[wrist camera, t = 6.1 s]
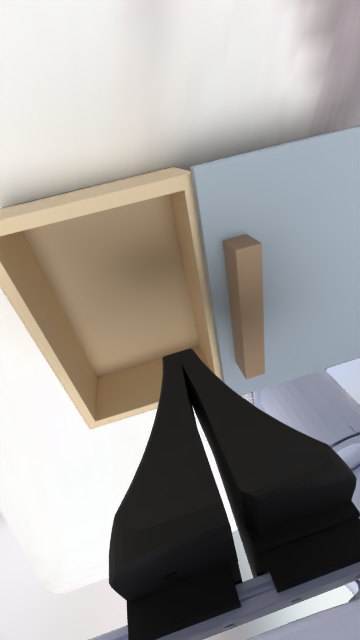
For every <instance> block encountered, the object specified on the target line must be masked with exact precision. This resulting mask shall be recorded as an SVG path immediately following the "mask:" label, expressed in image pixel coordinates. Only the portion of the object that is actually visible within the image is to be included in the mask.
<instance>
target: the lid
mask: <svg viewBox="0 0 360 640" xmlns="http://www.w3.org/2000/svg"><path fill="white" fill-rule="evenodd" d="M190 170H191V177H192V184H193V190H194V197H195V204H196V210H197V217H198V223H199V230H200V237H201V243H202V250H203V257H204V263H205V270H206V277H207V283H208V290H209V296H210V303H211V310H212V316H213V323H214V330H215V336H216V343H217V350H218V356H219V363H220V369H221V376H222V381H223V382H224V383H225V384H226V385H228V386H229V387H230V388H231V389H232V390H234V391H235V392H236V393H237V394H239V395H240V396H241V395H244V394H248V393H251V392H254V391H257V390H260V389H263V388H266V387H270V386H273V385H276V384H279V383H282V382H285V381H288V380H292V379H295V378H298V377H301V376H304V375H307V374H310V373H313V372H317V371H320V370H323V369H326V368H329V367H332V366H335V365H339V364H342V363H345V362H348V361H351V360H354V359H357V358H360V125H358V126H354V127H350V128H346V129H342V130H337V131H333V132H329V133H325V134H321V135H317V136H313V137H309V138H305V139H301V140H296V141H292V142H288V143H284V144H280V145H276V146H272V147H268V148H264V149H259V150H255V151H251V152H247V153H243V154H239V155H235V156H231V157H227V158H223V159H218V160H214V161H210V162H206V163H202V164H198V165H194V166H190Z"/></svg>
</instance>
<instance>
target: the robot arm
mask: <svg viewBox="0 0 360 640" xmlns="http://www.w3.org/2000/svg"><path fill="white" fill-rule="evenodd" d="M162 362H163V375H162V385H161V393H160V399H159V403H158V408H157V413H156V417H155V421H154V425H153V428H152V431H151V435H150V438H149V440H148V443H147V446H146V449H145V452H144V455H143V457H142V460H141V462H140V464H139V467H138V469H137V471H136V474H135V476H134V478H133V480H132V483H131V485H130V487H129V489H128V491H127V493H126V495H125V497H124V499H123V501H122V503H121V505H120V506H119V508H118V510H117V512H116V514H115V517H114V521H113V527H112V533H111V540H110V549H109V584H110V586H111V587H112V588H113V589H114V590H115V591H116V592H117V593H118V594H119V595H121V596H122V597H123V598H124V599H125V600H127V619H128V625H127V626H124V627H122V628H119V629H116V630H113V631H111V632H108V633H105V634H103V635H100V636H97V637H95V638H92V639H89V640H203V639H206V638H208V637H211V636H213V635H216V634H218V633H221V632H223V631H226V630H229V629H232V628H234V627H237V626H239V625H242V624H244V623H247V622H249V621H252V620H255V619H257V618H260V617H262V616H265V615H268V614H270V613H273V612H275V611H278V610H280V609H283V608H286V607H288V606H291V605H294V604H296V603H299V602H301V601H304V600H306V599H309V598H312V597H314V596H317V595H319V594H322V593H325V592H327V591H330V590H332V589H335V588H338V587H340V586H343V585H345V586H346V587H348V588H349V590H350V591H351V592H352V593H353V594H354V596H353V597H352V598H351V600H349V602H348V603H345V604H342V605H339V606H336V607H333V608H330V609H327V610H324V611H321V612H318V613H315V614H312V615H310V616H307V617H304V618H301V619H298V620H296V621H293V622H290V623H288V624H285V625H283V626H280V627H277V628H275V629H272V630H270V631H267V632H265V633H263V634H260V635H258V636H255V637H253V638H250V639H248V640H360V405H359V404H358V403H357V402H356V401H355V400H354V399H353V398H352V397H351V396H350V395H349V394H348V393H347V392H346V391H345V390H344V389H343V388H342V387H341V386H340V385H339V384H338V383H337V382H336V381H335V380H334V379H333V378H332V377H331V376H330V375H329V374H328V373H327V372H326V369H323V370H320V371H317V372H313V373H310V374H307V375H304V376H301V377H298V378H295V379H292V380H288V381H285V382H282V383H279V384H276V385H273V386H270V387H266V388H263V389H260V390H257V391H254V392H253V401H254V405H253V404H251V403H250V402H248V401H247V400H245V399H244V398H243V397H241V396H240V395H239V394H237V393H236V392H235V391H234V390H232V389H231V388H230V387H229V386H228V385H226V384H225V383H224V382H223V381H222V380H221V379H220V378H218V377H217V376H216V375H215V374H214V373H213V372H212V371H211V370H210V369H209V368H208V367H207V366H206V365H205V364H204V362H203V361H202V360H201V359H200V358H199V357H198V355H197V354H196V353H195V351H194V350H193V349H191V348H190V349H186V350H183V351H180V352H176V353H173V354H169V355H166V356H164V357H163V358H162ZM192 406H193V407H192ZM193 408H194V410H195V413H196V415H197V417H198V420H199V422H200V424H201V427H202V429H203V431H204V434H205V436H206V438H207V441H208V443H209V445H210V447H211V450H212V453H213V455H214V458H215V461H216V464H217V467H218V470H219V473H220V476H221V479H222V482H223V485H224V488H225V491H226V494H227V497H228V500H229V503H230V506H231V509H232V512H233V515H234V518H235V522H236V525H237V528H238V531H239V534H240V537H241V540H242V543H243V546H244V549H245V553H246V556H247V559H248V562H249V565H250V568H251V572H252V575H253V579H250V580H247V581H245V582H242V579H241V574H240V570H239V565H238V559H237V554H236V550H235V545H234V541H233V536H232V532H231V527H230V524H229V521H228V517H227V514H226V511H225V508H224V505H223V502H222V499H221V496H220V493H219V491H218V488H217V485H216V482H215V479H214V476H213V473H212V470H211V467H210V465H209V462H208V459H207V456H206V453H205V450H204V447H203V444H202V441H201V438H200V435H199V432H198V429H197V425H196V421H195V416H194V412H193Z"/></svg>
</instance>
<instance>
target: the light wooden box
mask: <svg viewBox="0 0 360 640" xmlns="http://www.w3.org/2000/svg"><path fill="white" fill-rule="evenodd" d="M0 287H1V289H2V290H3V292H4V294H5V295H6V297H7V298H8V300H9V302H10V303H11V305H12V306H13V308H14V310H15V311H16V313H17V314H18V316H19V318H20V319H21V321H22V322H23V324H24V325H25V327H26V329H27V330H28V332H29V333H30V335H31V337H32V338H33V340H34V341H35V343H36V345H37V346H38V348H39V349H40V351H41V353H42V354H43V356H44V357H45V359H46V361H47V362H48V364H49V365H50V367H51V368H52V370H53V372H54V373H55V375H56V376H57V378H58V380H59V381H60V383H61V384H62V386H63V388H64V389H65V391H66V392H67V394H68V396H69V397H70V399H71V400H72V402H73V403H74V405H75V407H76V408H77V410H78V411H79V413H80V415H81V416H82V418H83V419H84V421H85V423H86V424H87V426H88V427H89V429H93V428H96V427H100V426H103V425H106V424H109V423H112V422H116V421H119V420H122V419H125V418H128V417H131V416H135V415H138V414H141V413H144V412H147V411H150V410H154V409H157V408H158V403H159V399H160V393H161V385H162V375H163V362H162V358H163V357H164V356H166V355H169V354H173V353H176V352H180V351H183V350H186V349H190V348H191V349H193V350H194V351H195V353H196V354H197V355H198V357H199V358H200V359H201V360H202V361H203V362H204V364H205V365H206V366H207V367H208V368H209V369H210V370H211V371H212V372H213V373H214V374H215V375H216V376H217V377H218V378H220V379H221V380H222V376H221V369H220V363H219V356H218V350H217V343H216V336H215V330H214V323H213V316H212V310H211V303H210V296H209V290H208V283H207V277H206V270H205V263H204V257H203V250H202V243H201V237H200V230H199V223H198V217H197V210H196V204H195V197H194V190H193V184H192V177H191V171H187V170H183V169H179V168H175V167H170V168H166V169H162V170H158V171H153V172H149V173H145V174H141V175H137V176H133V177H129V178H125V179H120V180H116V181H112V182H108V183H104V184H100V185H96V186H92V187H87V188H83V189H79V190H75V191H71V192H67V193H63V194H59V195H54V196H50V197H46V198H42V199H38V200H34V201H30V202H26V203H21V204H17V205H13V206H9V207H5V208H2V209H0Z"/></svg>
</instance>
